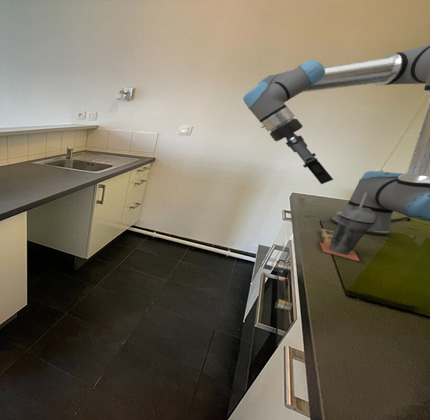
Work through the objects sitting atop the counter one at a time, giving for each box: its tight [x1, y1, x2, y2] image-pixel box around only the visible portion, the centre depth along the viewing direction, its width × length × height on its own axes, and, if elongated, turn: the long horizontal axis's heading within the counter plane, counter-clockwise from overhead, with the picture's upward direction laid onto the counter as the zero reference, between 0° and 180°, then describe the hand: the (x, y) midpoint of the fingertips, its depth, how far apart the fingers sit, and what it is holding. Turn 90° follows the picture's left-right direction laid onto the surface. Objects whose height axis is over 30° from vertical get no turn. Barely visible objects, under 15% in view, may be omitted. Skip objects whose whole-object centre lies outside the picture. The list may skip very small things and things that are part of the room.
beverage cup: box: [329, 192, 376, 255], centre depth 76 cm, size 7×7×20 cm
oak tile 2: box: [321, 235, 332, 245], centre depth 84 cm, size 6×6×2 cm
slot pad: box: [319, 242, 360, 262], centre depth 80 cm, size 8×8×1 cm
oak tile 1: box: [319, 228, 335, 238], centre depth 89 cm, size 6×6×2 cm
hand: (324, 178), depth 78 cm, fingers open, 13 cm apart
